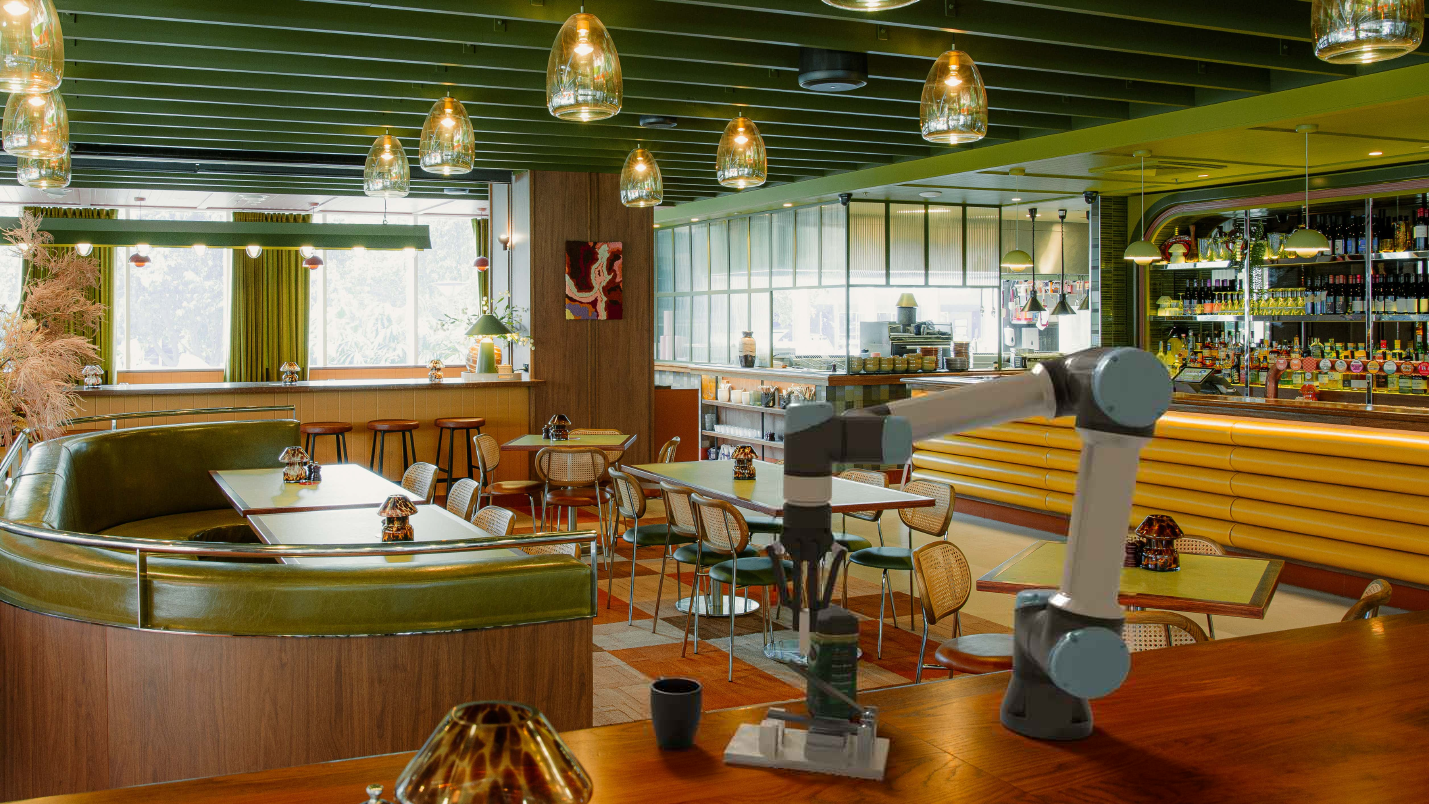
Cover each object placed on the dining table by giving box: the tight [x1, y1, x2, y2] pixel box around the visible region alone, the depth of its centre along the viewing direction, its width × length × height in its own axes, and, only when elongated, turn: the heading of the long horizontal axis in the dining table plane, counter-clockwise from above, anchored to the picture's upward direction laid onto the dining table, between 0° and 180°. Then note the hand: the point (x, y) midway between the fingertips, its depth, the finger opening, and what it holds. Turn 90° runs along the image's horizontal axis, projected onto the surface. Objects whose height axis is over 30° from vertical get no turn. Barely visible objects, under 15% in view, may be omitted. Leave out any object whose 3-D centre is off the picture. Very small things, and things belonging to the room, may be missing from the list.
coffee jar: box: [805, 603, 860, 720], centre depth 188 cm, size 10×8×19 cm
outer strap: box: [766, 709, 872, 734], centre depth 166 cm, size 16×2×2 cm, turn 77°
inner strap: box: [785, 658, 875, 718], centre depth 171 cm, size 16×2×2 cm
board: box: [723, 705, 890, 781], centre depth 169 cm, size 24×13×7 cm, turn 77°
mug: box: [649, 675, 703, 752], centre depth 174 cm, size 8×12×10 cm
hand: (804, 651), depth 170 cm, fingers closed
